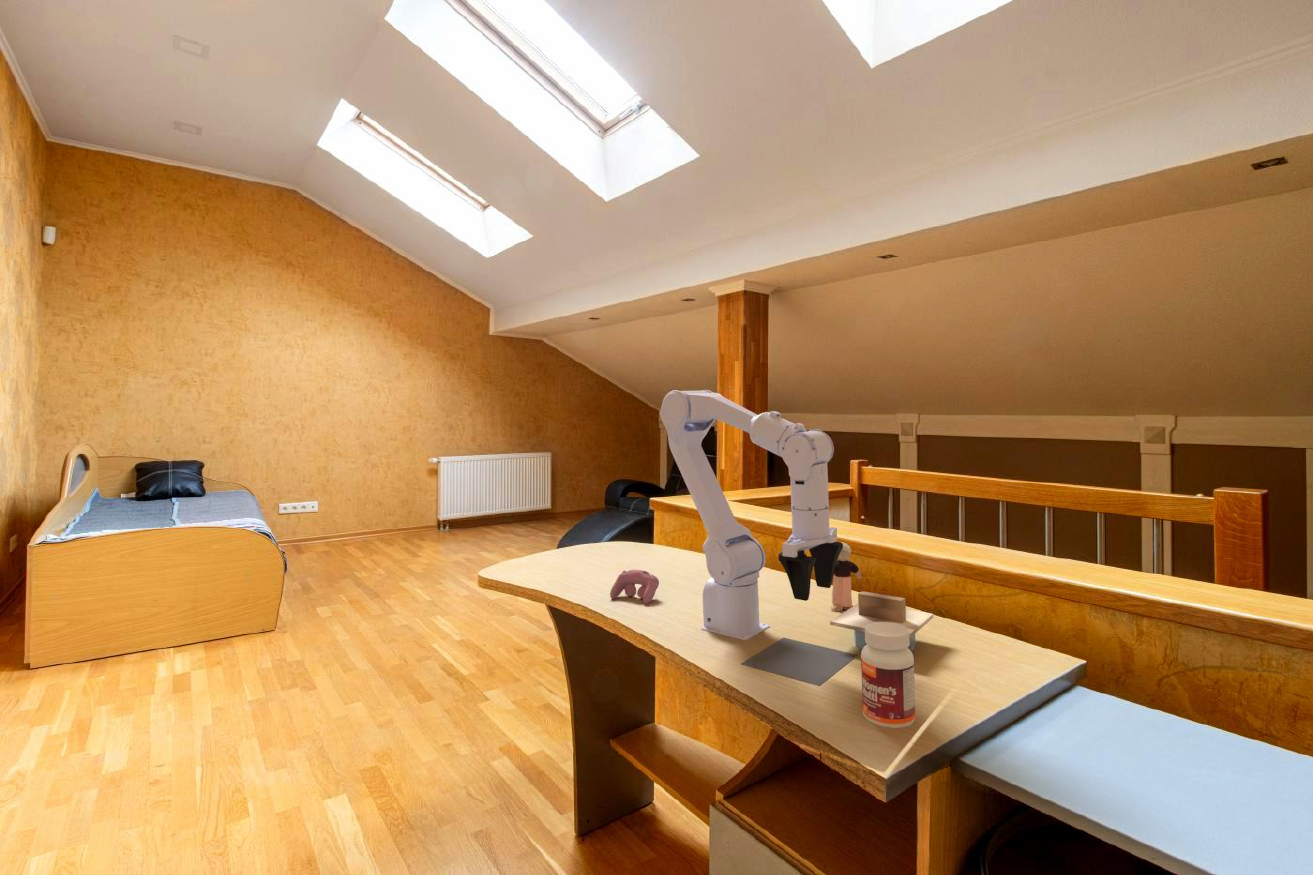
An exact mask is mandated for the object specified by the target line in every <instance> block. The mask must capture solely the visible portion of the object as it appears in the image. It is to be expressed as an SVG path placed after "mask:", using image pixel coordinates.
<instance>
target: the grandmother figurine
mask: <svg viewBox="0 0 1313 875" xmlns="http://www.w3.org/2000/svg"><path fill="white" fill-rule="evenodd" d="M840 542H841V541H840ZM841 543H843V549H842V551H841V552H840V554H839V557H838V559H837V562H836V565H835V569H834V574H833V579H832V589H831V590H832V591H831V604H832V605H831V606H830V610H831V611H833V612H841V611H843V609H844V610H845V611H847V610H848V609H850V608H852V607H853V606H854V605H853V599H852V576H851V573H853V574H854V575H855V577H856V579H862V574H861V572H860V568H859V567H858V565H857V564H856V563H855V562H853V561H850V560H849V558H850V555H851V552H852V548H851V547H850V545H849V544H847V543H846V542H845V543H844V542H841Z"/></svg>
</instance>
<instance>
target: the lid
mask: <svg viewBox="0 0 1313 875" xmlns="http://www.w3.org/2000/svg"><path fill="white" fill-rule="evenodd" d="M857 597H858V598H857V601H858V603H855V605H853V607H852V608H850V609H848V610H845V611H844V612H842V613H841V614H839V615H838V616H837V615H836V617H834V618H833V619H831V620H829V625H830V626H834V627H838V628H843V629H848V630H852V631H854V630H857V631H862V632H865V627H866V625H868V624H870V623H875V622H890V623H896V624H900V625H903V626H905V627H906V628H908V630H909V639H910V638H911V637H912V636H913V635H914V634H915V635H916V633H918V632H919V631H920V630H922V628H924V627H925V625H927V624H928V623H930V621H931V620H932V619H934V613H931V612H924V611H919V610H918V611H917V610H914V609H908V608H907V607H906V606H907V604H906V598H905V597H900V596H895V595H894V596H892V595H886V594H883V593H882V594H881V593H876V592H869V591H865V590H864V591H863V590H862V591H861V592H859V593H858V594H857Z"/></svg>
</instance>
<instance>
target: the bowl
mask: <svg viewBox="0 0 1313 875" xmlns="http://www.w3.org/2000/svg"><path fill="white" fill-rule="evenodd" d="M909 640H910V645H909V647H907V648H908V649H909V650H910V651H911V652H912V651H913V652H914V650H915V649H916V648H917V647H916V633H915V634H914V635H913V636H912V637H911V638H910V639H909ZM853 642H854V645H855V647H857V648H859V649H860V650H862V649H863V647H864V646H866V645H867V643H866V642H865V632H862V631H857V630H853ZM913 652H912V653H913Z"/></svg>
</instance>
